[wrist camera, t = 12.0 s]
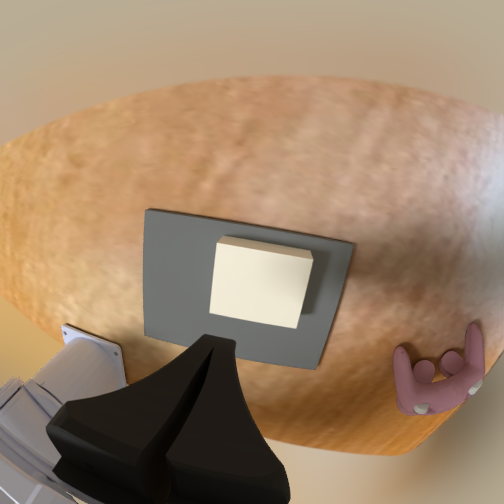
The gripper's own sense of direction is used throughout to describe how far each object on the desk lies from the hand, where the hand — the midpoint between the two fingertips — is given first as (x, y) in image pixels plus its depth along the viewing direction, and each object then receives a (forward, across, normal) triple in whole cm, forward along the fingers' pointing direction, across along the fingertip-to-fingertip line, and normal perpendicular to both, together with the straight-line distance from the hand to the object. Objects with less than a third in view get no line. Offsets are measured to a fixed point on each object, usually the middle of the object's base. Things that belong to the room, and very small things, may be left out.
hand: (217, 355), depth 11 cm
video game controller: (+10, -19, +6) cm, 22 cm away
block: (+8, +2, 0) cm, 9 cm away
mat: (+10, 0, +2) cm, 10 cm away
